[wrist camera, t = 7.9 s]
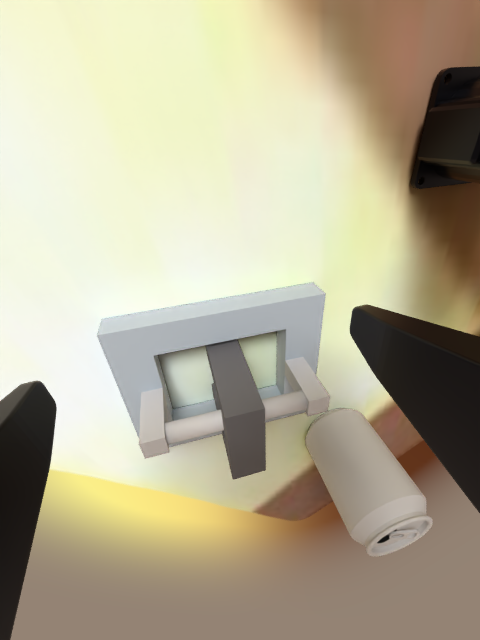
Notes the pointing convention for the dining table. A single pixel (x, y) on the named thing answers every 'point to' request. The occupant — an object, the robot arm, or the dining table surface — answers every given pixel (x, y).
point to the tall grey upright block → (238, 408)
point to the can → (367, 482)
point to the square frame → (208, 328)
